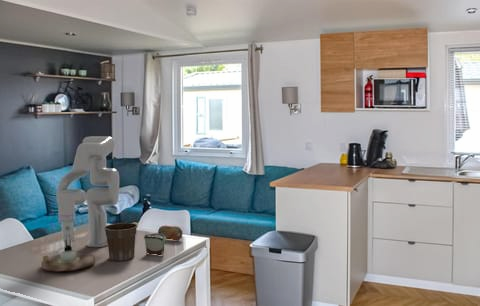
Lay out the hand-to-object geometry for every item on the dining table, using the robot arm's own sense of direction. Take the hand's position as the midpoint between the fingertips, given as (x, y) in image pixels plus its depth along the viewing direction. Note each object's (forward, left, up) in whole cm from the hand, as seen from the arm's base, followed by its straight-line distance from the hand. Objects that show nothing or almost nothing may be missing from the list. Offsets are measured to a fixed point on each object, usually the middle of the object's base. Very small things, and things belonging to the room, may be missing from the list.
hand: (68, 255), depth 222 cm
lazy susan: (0, +4, -2) cm, 5 cm away
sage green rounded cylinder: (0, +6, -1) cm, 6 cm away
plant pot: (-25, +1, -4) cm, 25 cm away
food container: (-43, +2, -4) cm, 43 cm away
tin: (-56, -20, -4) cm, 60 cm away
